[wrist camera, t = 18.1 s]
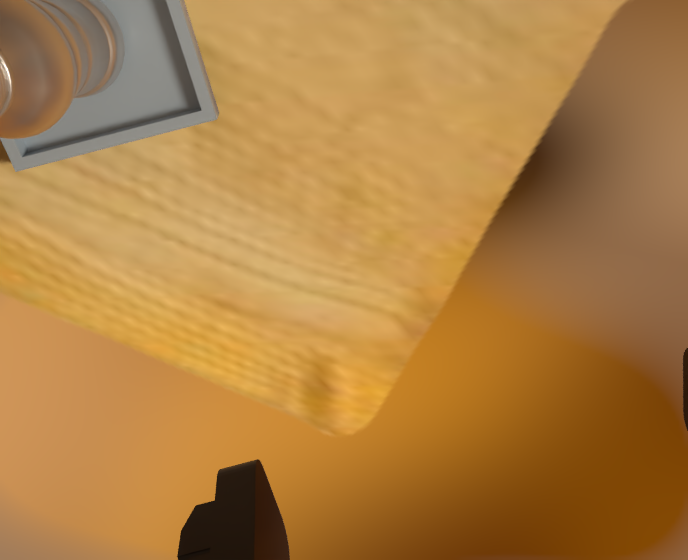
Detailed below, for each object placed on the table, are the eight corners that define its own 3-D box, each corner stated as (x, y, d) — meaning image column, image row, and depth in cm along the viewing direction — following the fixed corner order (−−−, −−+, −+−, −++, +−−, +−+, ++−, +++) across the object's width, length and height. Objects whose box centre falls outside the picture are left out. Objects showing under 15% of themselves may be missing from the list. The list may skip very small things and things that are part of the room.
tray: (-72, -54, 40) (-91, -57, 38) (149, -112, 40) (142, -117, 38) (27, 162, 46) (15, 171, 44) (219, 112, 46) (217, 119, 44)
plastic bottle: (69, -42, 40) (-90, -62, 22) (153, 44, 43) (74, 88, 25) (2, 33, 42) (-197, 72, 23) (89, 112, 44) (-32, 202, 26)
